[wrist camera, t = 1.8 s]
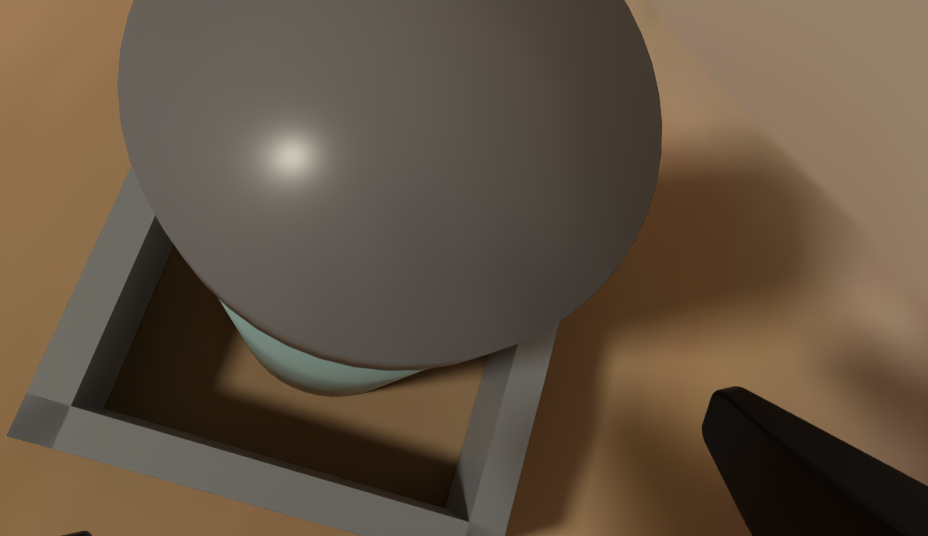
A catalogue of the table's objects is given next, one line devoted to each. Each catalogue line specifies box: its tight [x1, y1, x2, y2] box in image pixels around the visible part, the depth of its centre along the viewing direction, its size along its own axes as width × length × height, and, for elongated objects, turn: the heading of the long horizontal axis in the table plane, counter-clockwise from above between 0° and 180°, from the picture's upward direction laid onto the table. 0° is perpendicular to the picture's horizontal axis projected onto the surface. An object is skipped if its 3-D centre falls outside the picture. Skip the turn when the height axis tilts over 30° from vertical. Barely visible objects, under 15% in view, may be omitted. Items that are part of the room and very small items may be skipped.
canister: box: [118, 0, 662, 397], centre depth 15 cm, size 6×6×14 cm
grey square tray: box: [7, 167, 560, 536], centre depth 20 cm, size 12×12×3 cm
